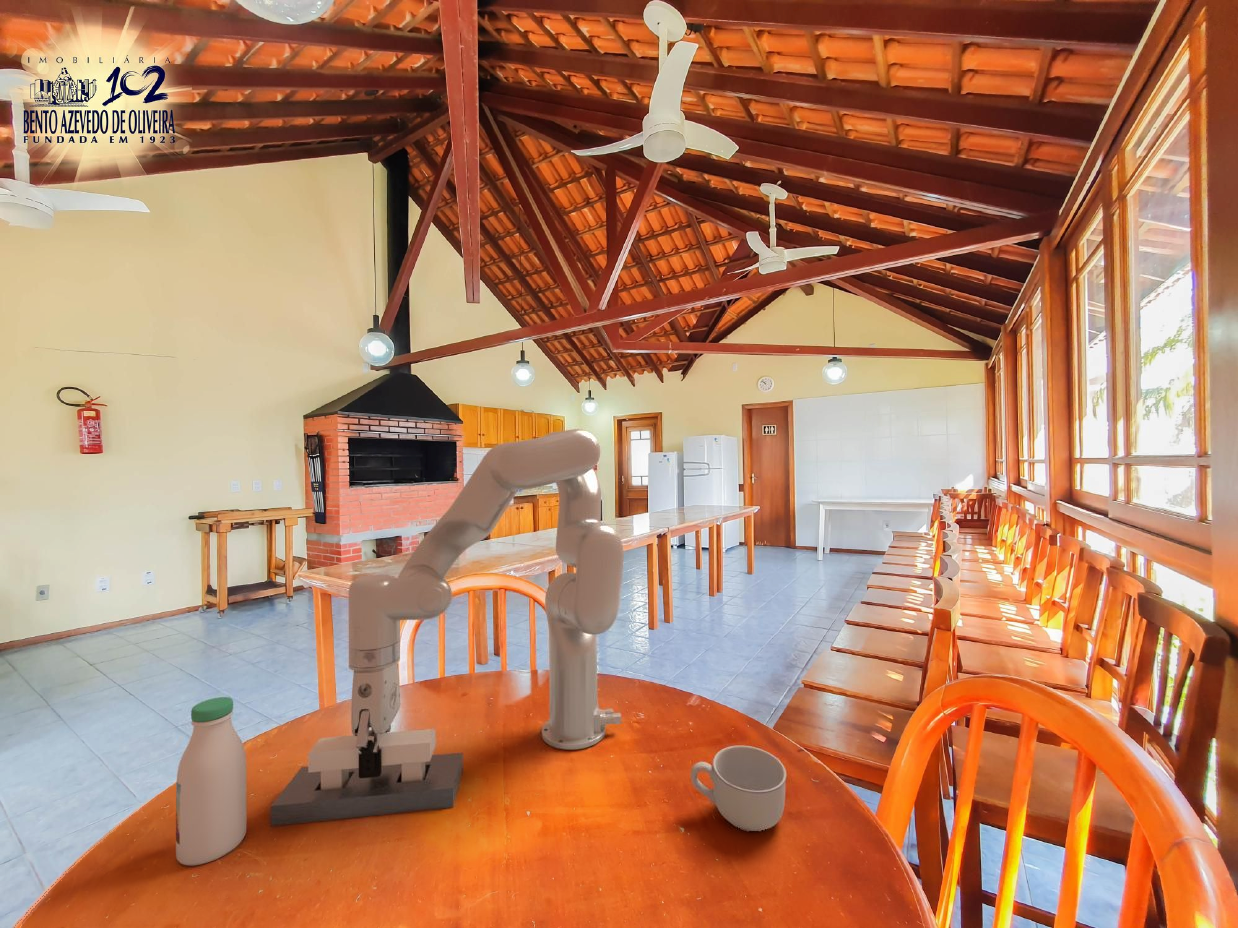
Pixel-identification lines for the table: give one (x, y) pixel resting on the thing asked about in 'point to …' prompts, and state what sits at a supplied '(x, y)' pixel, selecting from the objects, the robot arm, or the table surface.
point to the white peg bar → (395, 749)
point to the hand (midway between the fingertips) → (375, 765)
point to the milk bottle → (211, 786)
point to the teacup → (745, 786)
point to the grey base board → (368, 793)
